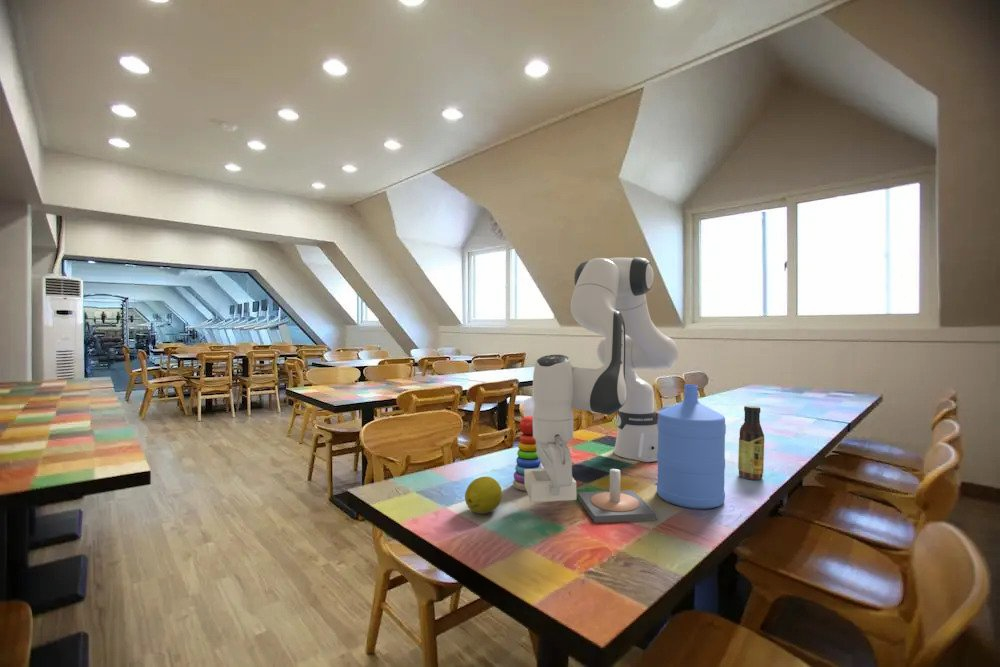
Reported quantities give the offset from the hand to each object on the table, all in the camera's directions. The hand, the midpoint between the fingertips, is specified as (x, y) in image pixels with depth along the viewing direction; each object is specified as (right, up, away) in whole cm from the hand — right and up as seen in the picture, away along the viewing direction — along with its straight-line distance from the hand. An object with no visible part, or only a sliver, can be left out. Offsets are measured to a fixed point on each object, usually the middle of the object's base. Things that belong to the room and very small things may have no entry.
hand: (553, 491), depth 103 cm
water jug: (+35, -6, +13) cm, 38 cm away
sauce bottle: (+59, -6, +28) cm, 65 cm away
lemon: (-16, -7, +5) cm, 18 cm away
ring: (0, -2, +4) cm, 5 cm away
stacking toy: (-4, -6, +21) cm, 22 cm away
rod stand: (+15, -6, +7) cm, 18 cm away
